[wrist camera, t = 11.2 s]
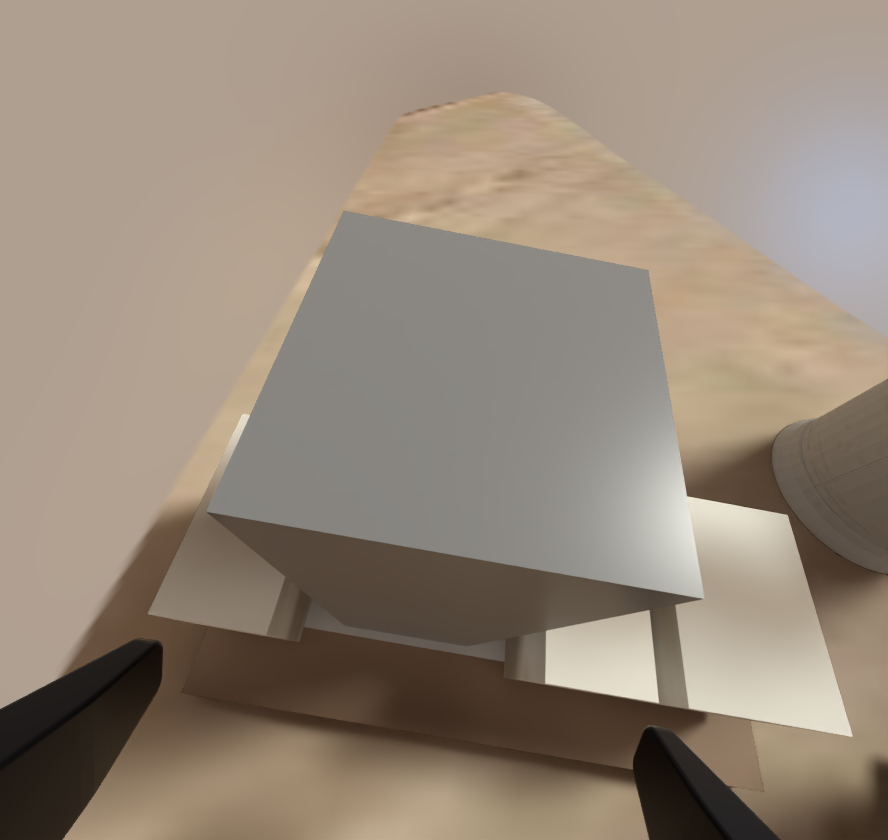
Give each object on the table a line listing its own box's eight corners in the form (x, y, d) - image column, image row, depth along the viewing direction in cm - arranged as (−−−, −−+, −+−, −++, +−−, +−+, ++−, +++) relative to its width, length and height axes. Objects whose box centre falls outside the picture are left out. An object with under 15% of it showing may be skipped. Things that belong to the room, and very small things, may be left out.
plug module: (466, 646, 15) (704, 599, 4) (344, 626, 15) (206, 511, 4) (479, 522, 17) (646, 263, 6) (374, 504, 17) (346, 204, 6)
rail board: (738, 783, 15) (932, 850, 10) (196, 690, 15) (83, 707, 9) (693, 519, 20) (803, 467, 15) (290, 445, 20) (254, 364, 14)
